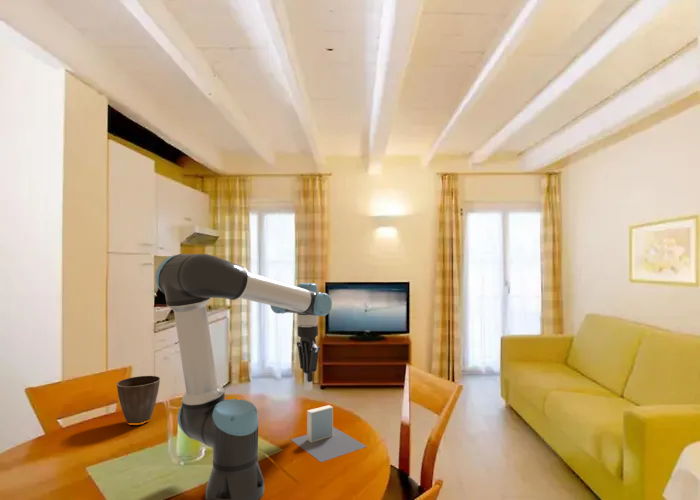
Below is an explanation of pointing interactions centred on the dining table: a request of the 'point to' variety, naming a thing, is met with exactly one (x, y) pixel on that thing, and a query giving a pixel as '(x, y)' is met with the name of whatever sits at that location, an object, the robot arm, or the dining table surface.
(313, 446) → the mat
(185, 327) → the robot arm
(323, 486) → the dining table surface
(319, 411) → the tile
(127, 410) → the plant pot
